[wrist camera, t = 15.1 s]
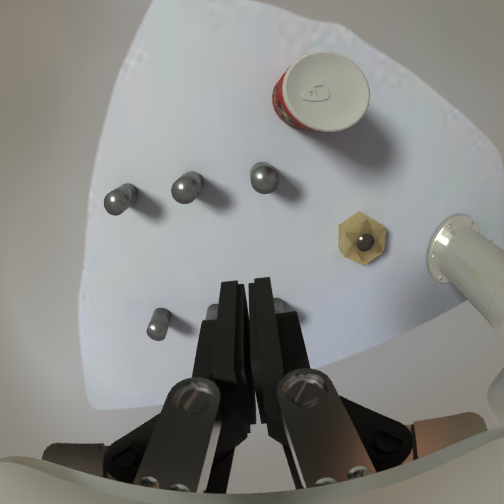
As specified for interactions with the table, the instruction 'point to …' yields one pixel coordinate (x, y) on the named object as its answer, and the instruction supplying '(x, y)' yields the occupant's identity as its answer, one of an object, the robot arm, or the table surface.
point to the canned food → (322, 93)
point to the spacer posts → (185, 193)
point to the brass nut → (361, 238)
